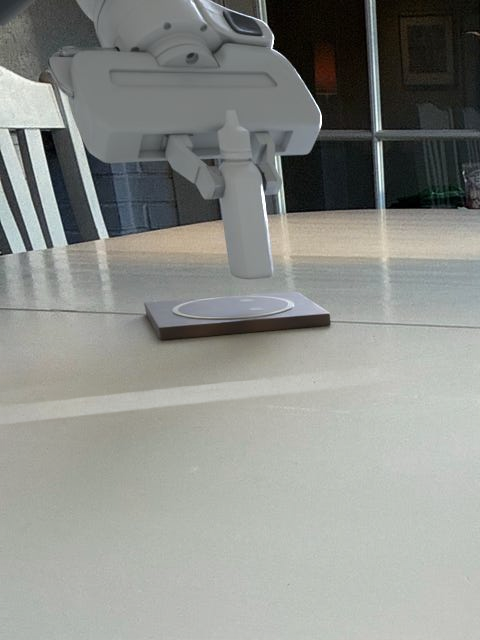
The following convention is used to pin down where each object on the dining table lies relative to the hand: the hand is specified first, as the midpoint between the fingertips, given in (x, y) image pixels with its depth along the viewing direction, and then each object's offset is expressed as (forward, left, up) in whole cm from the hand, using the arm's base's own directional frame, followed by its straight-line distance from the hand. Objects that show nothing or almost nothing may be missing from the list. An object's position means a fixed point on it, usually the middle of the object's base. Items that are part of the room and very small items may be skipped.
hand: (245, 191), depth 72 cm
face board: (-2, +3, -10) cm, 11 cm away
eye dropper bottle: (0, +1, -7) cm, 7 cm away
